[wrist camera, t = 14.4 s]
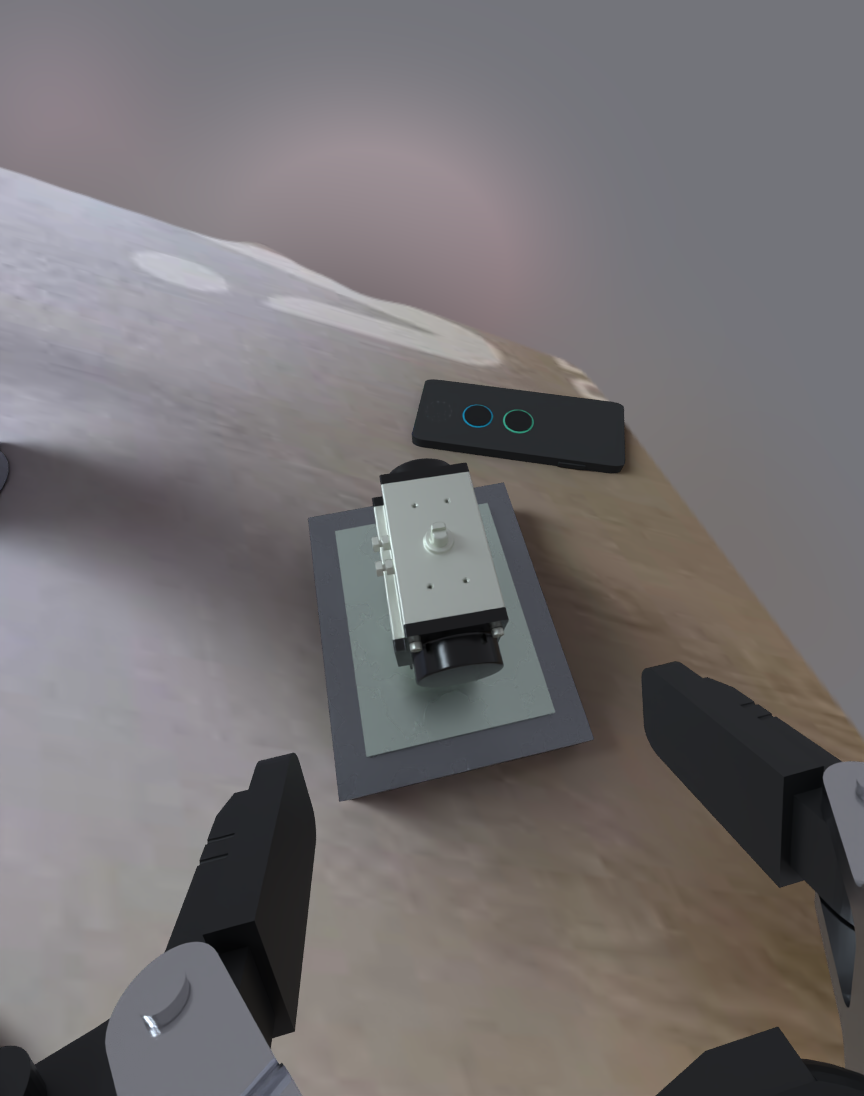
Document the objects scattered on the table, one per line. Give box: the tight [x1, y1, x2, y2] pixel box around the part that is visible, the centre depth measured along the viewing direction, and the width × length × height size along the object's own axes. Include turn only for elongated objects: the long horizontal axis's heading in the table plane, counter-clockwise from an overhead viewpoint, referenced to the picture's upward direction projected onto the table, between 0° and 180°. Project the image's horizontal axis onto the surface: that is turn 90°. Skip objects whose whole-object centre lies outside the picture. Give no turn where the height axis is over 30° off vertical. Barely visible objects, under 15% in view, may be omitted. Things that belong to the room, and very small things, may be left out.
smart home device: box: [412, 380, 625, 473], centre depth 45 cm, size 8×2×20 cm
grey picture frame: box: [308, 483, 594, 802], centre depth 34 cm, size 20×16×5 cm
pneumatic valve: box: [372, 458, 509, 687], centre depth 27 cm, size 6×12×12 cm, turn 10°
